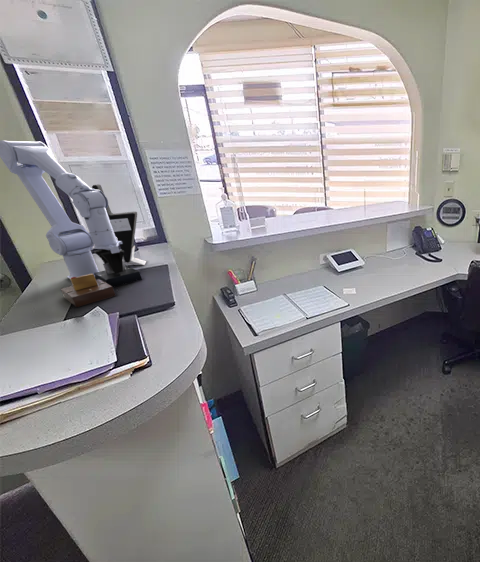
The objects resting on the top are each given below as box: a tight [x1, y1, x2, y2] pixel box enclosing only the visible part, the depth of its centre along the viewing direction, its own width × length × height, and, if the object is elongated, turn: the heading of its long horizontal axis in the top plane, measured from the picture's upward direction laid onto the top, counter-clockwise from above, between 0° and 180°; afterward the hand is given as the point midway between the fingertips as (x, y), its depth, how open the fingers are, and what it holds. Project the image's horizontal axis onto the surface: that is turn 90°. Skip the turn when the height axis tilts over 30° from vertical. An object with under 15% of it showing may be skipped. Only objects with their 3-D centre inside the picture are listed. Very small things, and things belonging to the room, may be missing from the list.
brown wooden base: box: [60, 279, 117, 308], centre depth 91 cm, size 12×9×3 cm
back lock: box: [102, 259, 126, 274], centre depth 102 cm, size 5×1×4 cm, turn 145°
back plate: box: [94, 265, 143, 288], centre depth 103 cm, size 12×9×3 cm
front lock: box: [69, 273, 98, 291], centre depth 89 cm, size 5×1×4 cm, turn 146°
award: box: [88, 183, 147, 266], centre depth 113 cm, size 15×5×30 cm, turn 117°
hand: (116, 271), depth 102 cm, fingers open, 5 cm apart
